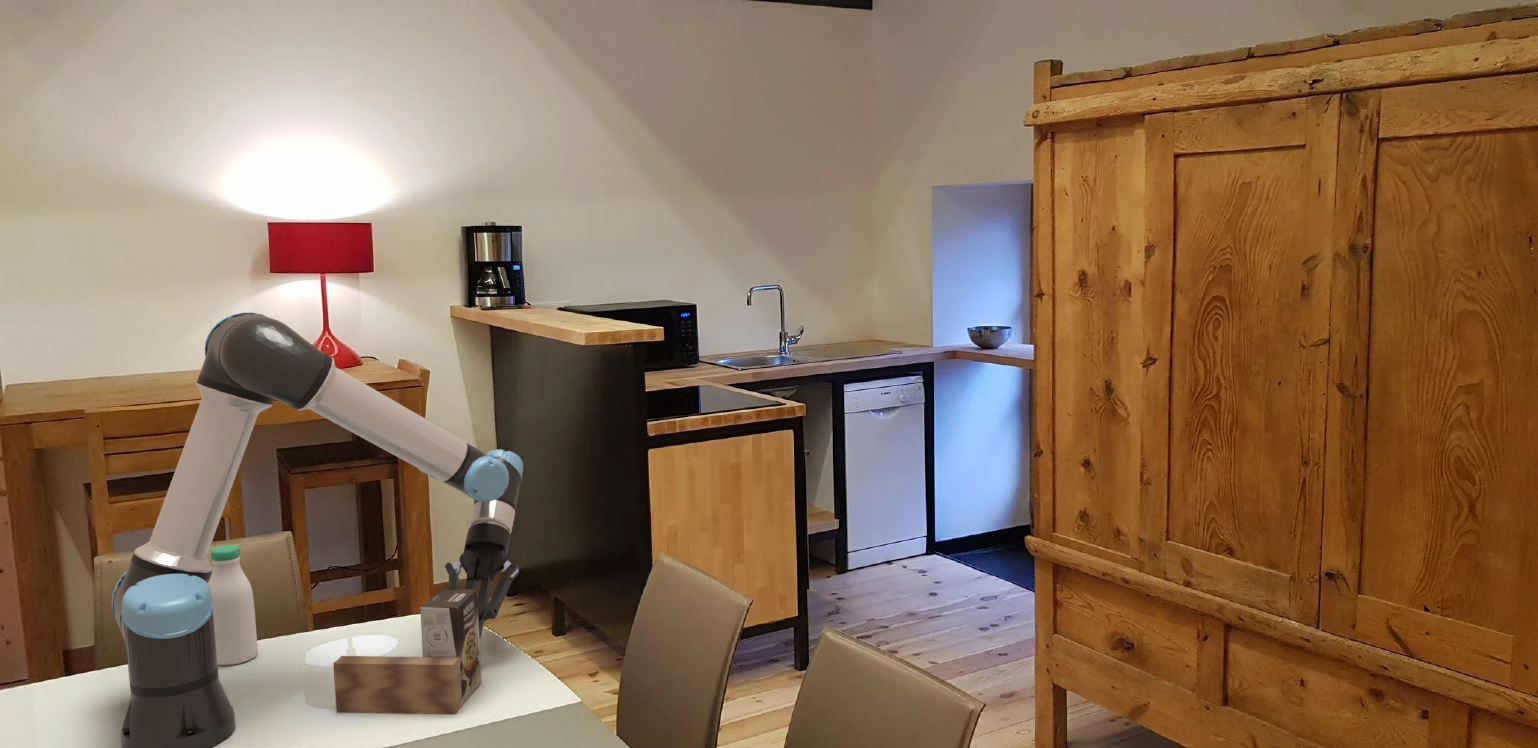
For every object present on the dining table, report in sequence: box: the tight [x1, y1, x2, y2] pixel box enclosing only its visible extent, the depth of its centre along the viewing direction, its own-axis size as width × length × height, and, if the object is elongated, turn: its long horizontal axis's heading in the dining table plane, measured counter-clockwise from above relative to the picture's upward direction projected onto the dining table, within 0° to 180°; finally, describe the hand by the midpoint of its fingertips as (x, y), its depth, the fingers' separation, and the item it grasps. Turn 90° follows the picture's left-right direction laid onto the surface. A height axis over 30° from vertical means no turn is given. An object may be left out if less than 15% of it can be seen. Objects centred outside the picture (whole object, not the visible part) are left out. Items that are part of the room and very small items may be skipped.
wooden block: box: [332, 655, 463, 715], centre depth 178 cm, size 19×3×8 cm, turn 86°
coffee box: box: [419, 588, 483, 705], centre depth 183 cm, size 9×6×16 cm
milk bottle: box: [208, 544, 259, 666], centre depth 199 cm, size 8×8×20 cm
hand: (464, 656), depth 189 cm, fingers closed
